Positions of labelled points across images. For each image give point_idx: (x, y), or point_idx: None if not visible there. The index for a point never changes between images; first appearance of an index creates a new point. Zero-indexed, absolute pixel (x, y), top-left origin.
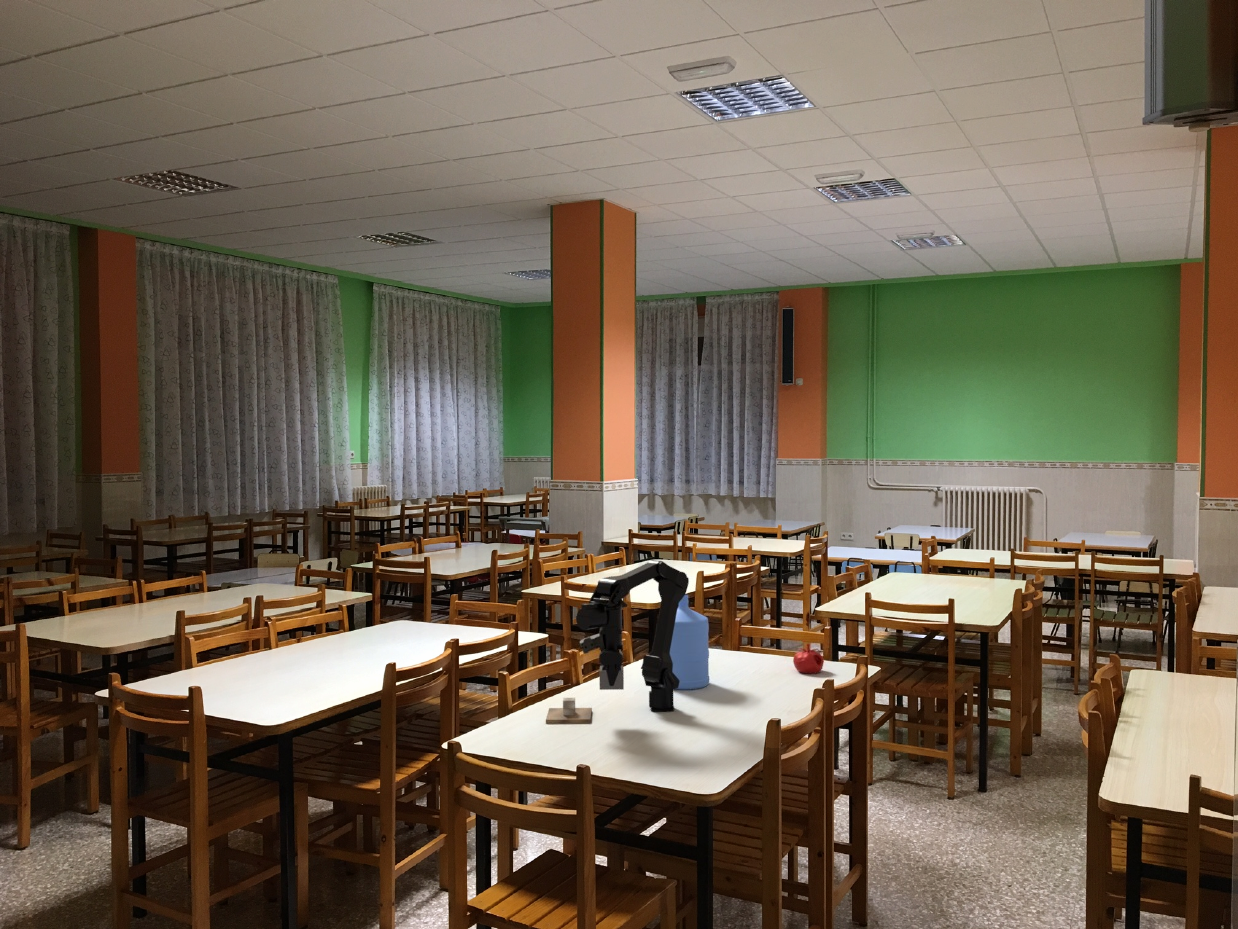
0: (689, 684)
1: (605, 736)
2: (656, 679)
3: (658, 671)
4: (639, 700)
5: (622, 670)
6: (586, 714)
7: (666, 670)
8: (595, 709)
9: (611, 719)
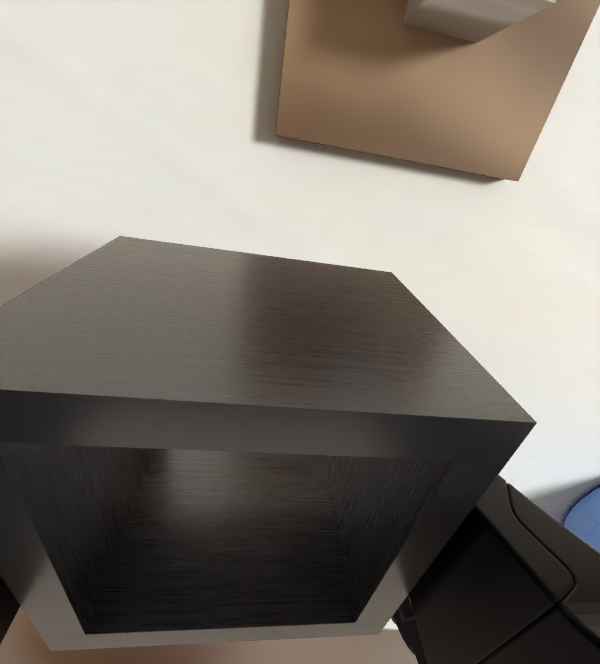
0: (579, 526)
1: (2, 192)
2: None
3: (406, 626)
4: (553, 393)
5: (69, 647)
6: (390, 124)
7: (409, 644)
8: (531, 205)
9: (325, 263)
